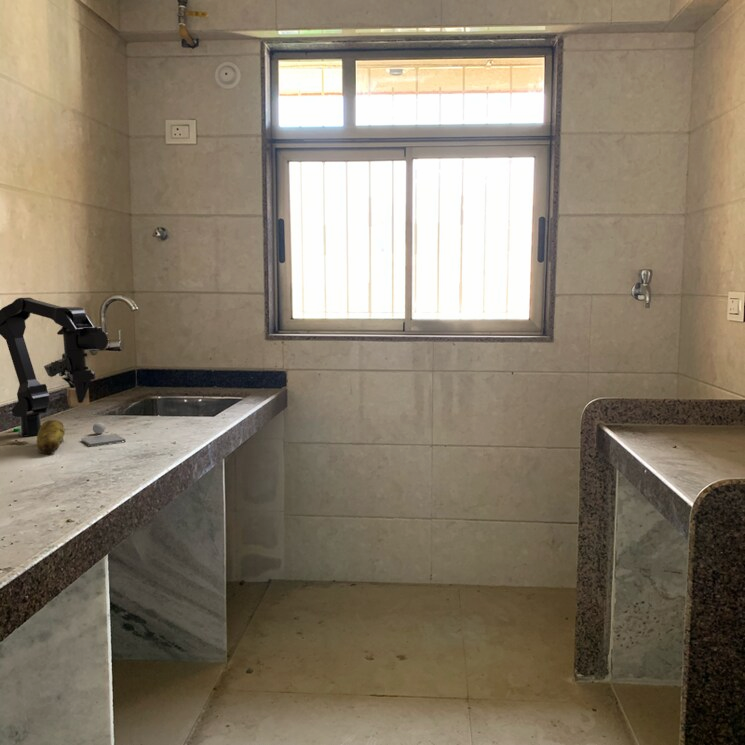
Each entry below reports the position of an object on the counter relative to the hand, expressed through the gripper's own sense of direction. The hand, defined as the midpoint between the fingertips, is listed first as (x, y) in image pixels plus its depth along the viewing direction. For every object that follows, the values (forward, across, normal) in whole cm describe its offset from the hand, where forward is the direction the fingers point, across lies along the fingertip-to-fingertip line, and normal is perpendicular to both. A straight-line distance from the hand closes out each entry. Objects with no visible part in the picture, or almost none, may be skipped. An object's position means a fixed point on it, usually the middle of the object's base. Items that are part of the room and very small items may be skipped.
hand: (78, 401), depth 214 cm
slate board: (+11, +8, +4) cm, 15 cm away
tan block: (+1, 0, 0) cm, 1 cm away
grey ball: (+9, -3, +6) cm, 12 cm away
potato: (+12, +11, -11) cm, 19 cm away
